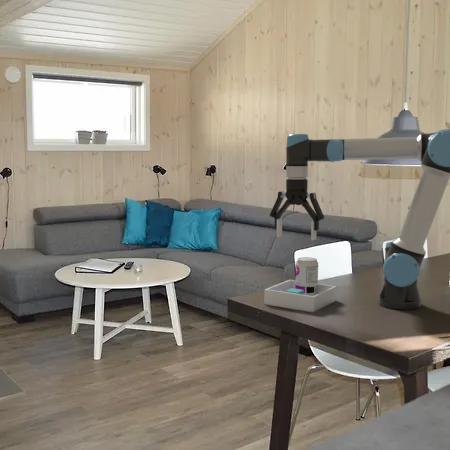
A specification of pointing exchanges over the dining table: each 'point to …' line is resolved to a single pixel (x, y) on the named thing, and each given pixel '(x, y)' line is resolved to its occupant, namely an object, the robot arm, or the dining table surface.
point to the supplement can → (307, 275)
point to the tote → (299, 297)
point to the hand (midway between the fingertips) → (296, 238)
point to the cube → (295, 291)
